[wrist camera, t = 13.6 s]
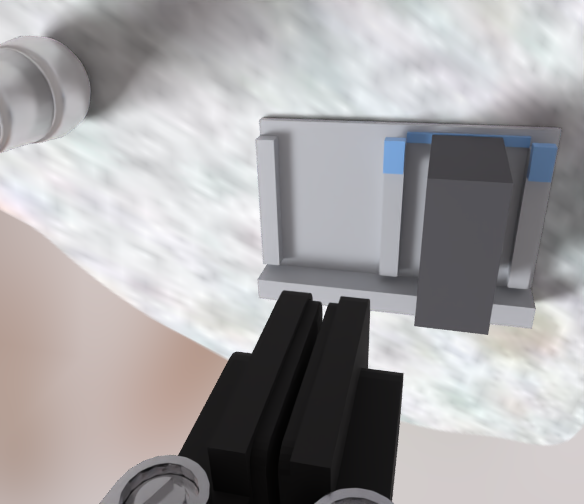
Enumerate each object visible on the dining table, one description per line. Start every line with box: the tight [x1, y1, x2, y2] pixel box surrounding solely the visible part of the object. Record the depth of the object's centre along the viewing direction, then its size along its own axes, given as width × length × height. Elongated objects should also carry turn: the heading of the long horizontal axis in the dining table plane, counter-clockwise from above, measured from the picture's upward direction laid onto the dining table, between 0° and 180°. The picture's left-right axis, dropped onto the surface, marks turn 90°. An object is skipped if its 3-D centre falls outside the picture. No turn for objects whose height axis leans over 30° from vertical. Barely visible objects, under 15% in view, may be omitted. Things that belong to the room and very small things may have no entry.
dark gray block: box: [414, 135, 514, 335], centre depth 32 cm, size 9×4×7 cm, turn 2°
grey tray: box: [256, 118, 562, 329], centre depth 36 cm, size 12×18×3 cm, turn 92°
